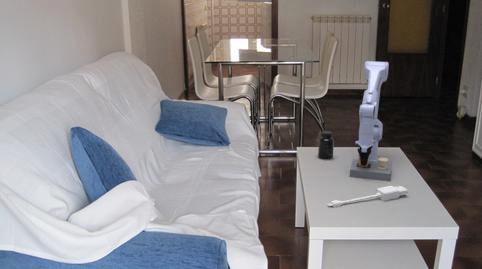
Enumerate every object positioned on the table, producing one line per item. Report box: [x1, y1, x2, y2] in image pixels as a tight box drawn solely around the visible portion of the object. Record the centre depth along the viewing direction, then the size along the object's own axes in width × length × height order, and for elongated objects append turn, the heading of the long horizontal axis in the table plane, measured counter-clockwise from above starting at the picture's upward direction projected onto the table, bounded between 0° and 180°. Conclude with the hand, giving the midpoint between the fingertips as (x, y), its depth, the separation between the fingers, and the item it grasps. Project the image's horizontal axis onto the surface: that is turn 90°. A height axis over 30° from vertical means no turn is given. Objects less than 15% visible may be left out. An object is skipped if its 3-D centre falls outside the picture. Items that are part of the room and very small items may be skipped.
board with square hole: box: [349, 156, 392, 182], centre depth 206 cm, size 14×16×7 cm
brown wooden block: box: [358, 155, 369, 168], centre depth 207 cm, size 4×4×7 cm
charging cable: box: [326, 185, 409, 208], centre depth 180 cm, size 5×32×3 cm, turn 110°
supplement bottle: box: [317, 130, 335, 160], centre depth 224 cm, size 7×7×12 cm
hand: (363, 163), depth 207 cm, fingers closed on brown wooden block, 4 cm apart
